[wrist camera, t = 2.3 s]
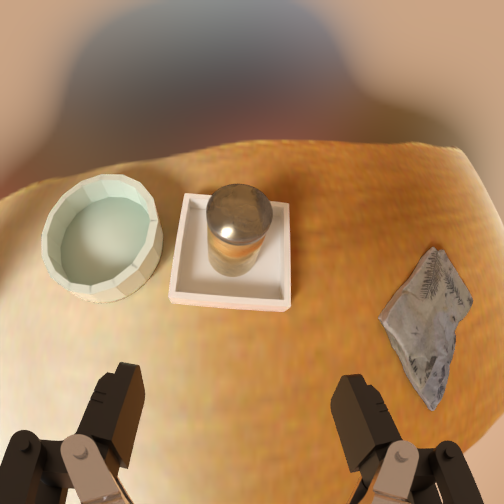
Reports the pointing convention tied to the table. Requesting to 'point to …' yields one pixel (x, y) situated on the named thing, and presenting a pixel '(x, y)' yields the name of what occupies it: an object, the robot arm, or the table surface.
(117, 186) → the bowl
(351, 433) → the robot arm
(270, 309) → the parts tray
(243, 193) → the glass jar with lid
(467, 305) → the fossil rock
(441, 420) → the table surface
